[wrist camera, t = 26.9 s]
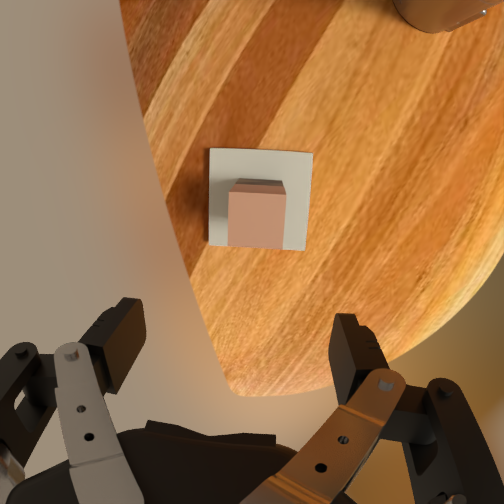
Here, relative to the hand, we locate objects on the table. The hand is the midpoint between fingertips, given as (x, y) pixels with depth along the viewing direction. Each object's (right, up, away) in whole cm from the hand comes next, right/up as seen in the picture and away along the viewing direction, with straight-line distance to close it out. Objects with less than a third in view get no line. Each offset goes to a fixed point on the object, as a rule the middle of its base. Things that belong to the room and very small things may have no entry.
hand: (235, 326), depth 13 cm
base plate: (+2, +10, +26) cm, 28 cm away
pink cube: (+1, +7, +20) cm, 22 cm away
